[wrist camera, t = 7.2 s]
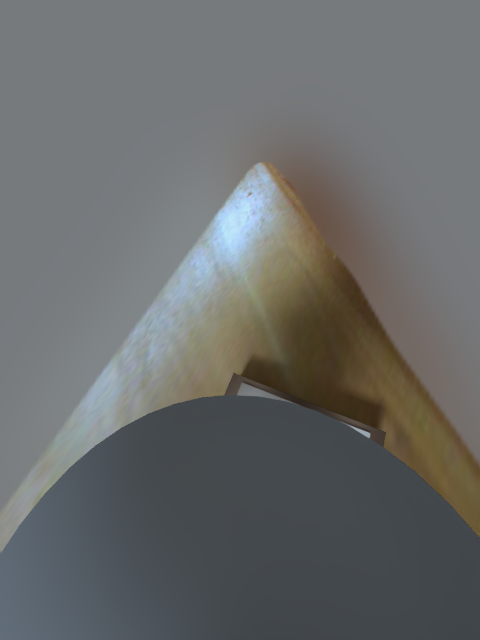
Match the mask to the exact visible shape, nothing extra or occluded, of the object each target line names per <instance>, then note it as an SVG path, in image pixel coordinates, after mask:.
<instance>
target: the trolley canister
mask: <svg viewBox="0 0 480 640" xmlns="http://www.w3.org/2000/svg"><path fill="white" fill-rule="evenodd" d="M0 640H480V538H479V537H478V535H477V534H476V533H475V532H474V531H473V530H472V529H471V528H470V527H469V525H468V524H467V523H466V522H465V521H464V520H463V519H462V518H461V516H460V515H459V514H458V513H457V512H456V511H455V510H454V509H453V507H452V506H451V505H450V504H449V503H448V502H447V501H446V500H445V499H444V498H443V497H441V496H440V495H439V494H438V493H437V492H436V491H435V490H434V489H433V488H432V487H431V486H430V485H429V484H428V483H426V482H425V481H424V480H423V479H422V478H421V477H420V476H419V475H418V474H417V473H416V472H415V471H414V470H412V469H411V468H410V467H408V466H407V465H406V464H404V463H403V462H402V461H401V460H399V459H398V458H397V457H395V456H394V455H393V454H391V453H390V452H389V451H387V450H386V449H385V448H383V447H382V446H381V445H379V444H378V443H376V442H374V441H373V440H371V439H370V438H368V437H366V436H365V435H363V434H361V433H360V432H358V431H356V430H355V429H353V428H351V427H350V426H348V425H346V424H344V423H342V422H340V421H337V420H335V419H333V418H331V417H329V416H326V415H324V414H322V413H320V412H318V411H315V410H312V409H309V408H306V407H303V406H299V405H296V404H293V403H290V402H287V401H281V400H276V399H270V398H264V397H259V396H240V395H225V396H214V397H203V398H198V399H194V400H190V401H185V402H181V403H177V404H173V405H171V406H168V407H165V408H163V409H160V410H157V411H155V412H152V413H149V414H147V415H145V416H143V417H141V418H139V419H138V420H136V421H134V422H132V423H130V424H128V425H126V426H124V427H122V428H121V429H119V430H118V431H116V432H115V433H113V434H112V435H111V436H109V437H108V438H106V439H105V440H103V441H102V442H100V443H99V444H97V445H96V446H95V447H94V448H92V449H91V450H90V451H89V452H88V453H87V454H85V455H84V456H83V457H82V458H81V459H80V460H78V461H77V462H76V463H75V464H74V465H72V466H71V467H70V468H69V469H68V470H67V471H66V472H65V473H64V474H63V476H62V477H61V478H60V479H59V480H58V481H57V482H56V483H55V484H54V485H53V486H52V487H51V488H50V489H49V490H48V491H47V492H46V493H45V494H44V496H43V497H42V498H41V499H40V501H39V502H38V503H37V504H36V506H35V507H34V508H33V509H32V511H31V512H30V513H29V514H28V516H27V517H26V518H25V519H24V521H23V522H22V523H21V524H20V526H19V527H18V529H17V530H16V532H15V533H14V535H13V536H12V538H11V539H10V541H9V542H8V544H7V545H6V547H5V548H4V549H3V551H2V552H1V554H0Z"/></svg>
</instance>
